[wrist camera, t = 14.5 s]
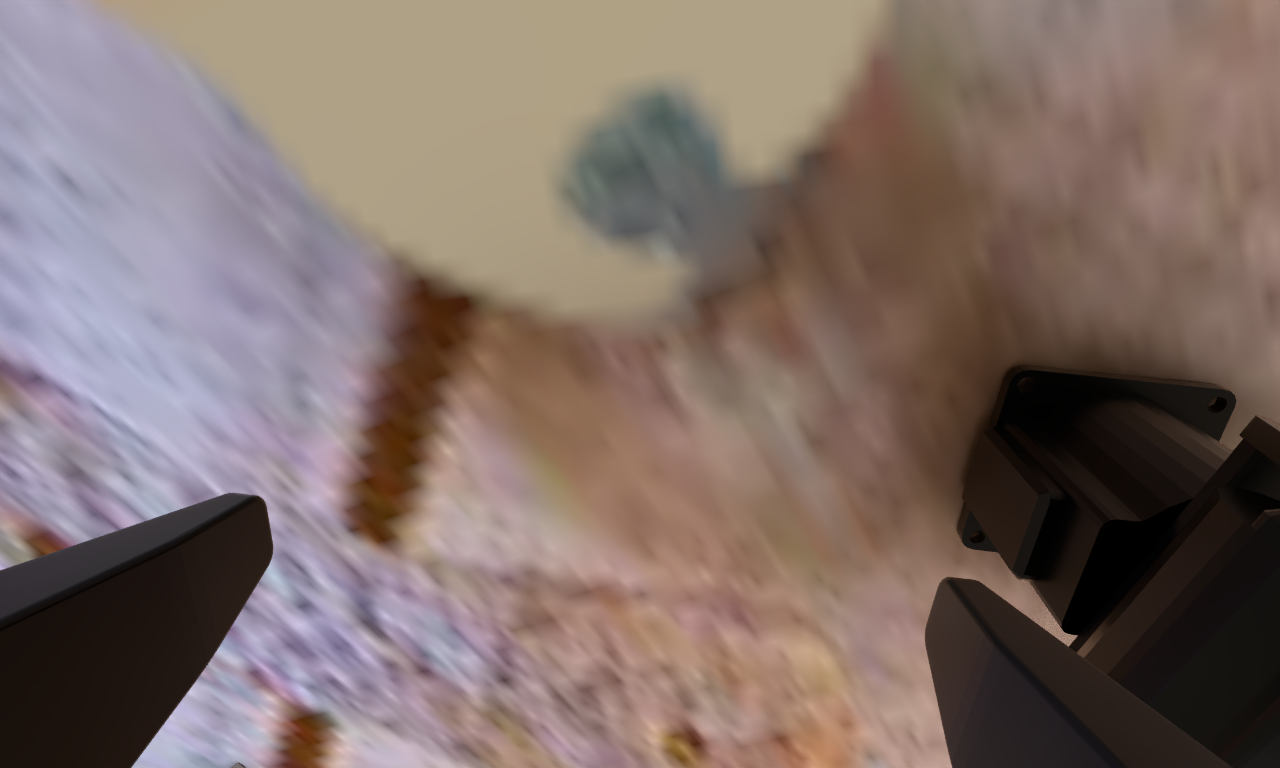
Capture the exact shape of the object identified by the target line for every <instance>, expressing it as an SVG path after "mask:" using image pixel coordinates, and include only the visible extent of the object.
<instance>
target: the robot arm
mask: <svg viewBox="0 0 1280 768" xmlns="http://www.w3.org/2000/svg"><path fill="white" fill-rule="evenodd" d="M1028 377H1030V379H1029V383H1028V384H1027V385H1026V386H1025V387H1023V388H1018V383H1019V381H1020V380H1022V379H1023V378H1028ZM1216 397H1217V401H1216V402H1215V404H1214V405H1212V406H1210V407H1208V403H1209V402H1210V401H1211V400H1212V399H1214V398H1216ZM1235 404H1236V398H1235V395H1234V394H1233V393H1232V392H1231V391H1229V390H1227V389H1225V388H1223V387H1221V386H1218V385H1215V384H1206V383H1196V382H1186V381H1176V380H1166V379H1157V378H1147V377H1137V376H1127V375H1117V374H1107V373H1097V372H1087V371H1077V370H1068V369H1058V368H1048V367H1038V366H1028V365H1022V366H1017V367H1015V368H1012V369H1011V370H1010V371H1009V372H1008V373H1007V374H1006V376H1005V378H1004V380H1003V384H1002V387H1001V390H1000V393H999V397H998V400H997V403H996V406H995V410H994V413H993V416H992V419H991V423H990V426H989V427H987V428H986V429H985V430H984V431H983V432H982V433H981V436H980V439H979V442H978V446H977V449H976V452H975V455H974V459H973V462H972V465H971V469H970V472H969V475H968V478H967V482H966V485H965V488H964V492H963V495H962V498H963V500H964V501H965V503H966V504H965V507H964V510H963V514H962V517H961V520H960V523H959V527H958V535H959V537H960V539H961V541H962V542H963V544H964V545H965V546H966V547H968V548H970V549H974V550H983V551H991V552H998V553H999V554H1000V556H1001V557H1002V559H1003V560H1004V562H1005V563H1006V565H1007V566H1008V568H1009V569H1010V571H1011V572H1012V573H1013V574H1014V576H1015V577H1016V578H1017V579H1020V580H1029V582H1030V583H1031V585H1032V586H1033V588H1034V589H1035V591H1036V592H1037V594H1038V595H1039V596H1040V598H1041V599H1042V601H1043V602H1044V604H1045V605H1046V607H1047V608H1048V610H1049V611H1050V612H1051V614H1052V615H1053V617H1054V618H1055V620H1056V621H1057V623H1058V624H1059V626H1060V627H1061V628H1062V630H1063V631H1064V632H1065V633H1068V634H1071V635H1078V636H1077V638H1076V639H1075V640H1074V641H1073V642H1072V644H1071V645H1070V646H1069V647H1068V646H1067V645H1065V644H1064V643H1062V642H1061V641H1060V640H1058V639H1057V638H1056V637H1054V636H1053V635H1052V634H1050V633H1049V632H1047V631H1046V630H1045V629H1043V628H1042V627H1041V626H1039V625H1038V624H1037V623H1035V622H1034V621H1032V620H1031V619H1030V618H1028V617H1027V616H1026V615H1024V614H1023V613H1022V612H1020V611H1019V610H1017V609H1016V608H1015V607H1013V606H1012V605H1011V604H1009V603H1008V602H1007V601H1005V600H1004V599H1002V598H1001V597H1000V596H998V595H997V594H996V593H994V592H993V591H992V590H990V589H989V588H987V587H986V586H985V585H983V584H982V583H980V582H979V581H976V580H971V579H962V578H953V577H946V578H945V579H943V580H942V581H941V582H940V584H939V586H938V589H937V592H936V595H935V599H934V602H933V605H932V609H931V612H930V615H929V618H928V622H927V625H926V630H925V645H926V650H927V655H928V659H929V664H930V669H931V673H932V678H933V683H934V688H935V692H936V697H937V702H938V706H939V711H940V716H941V720H942V725H943V730H944V734H945V739H946V744H947V748H948V752H949V756H950V760H951V764H952V768H1280V424H1278V423H1276V422H1273V421H1271V420H1268V419H1266V418H1263V417H1260V416H1258V415H1256V416H1255V417H1254V418H1253V419H1252V420H1251V422H1250V423H1249V424H1248V425H1247V426H1246V428H1245V429H1244V430H1243V431H1242V432H1241V434H1240V436H1241V437H1242V438H1244V439H1243V440H1242V441H1241V442H1240V444H1239V445H1238V446H1237V447H1236V448H1235V450H1234V451H1232V450H1231V449H1229V448H1228V447H1226V446H1224V445H1223V444H1221V443H1220V442H1219V440H1220V438H1221V436H1222V434H1223V431H1224V429H1225V427H1226V425H1227V423H1228V421H1229V418H1230V416H1231V414H1232V412H1233V410H1234V408H1235ZM974 531H981V532H980V533H979V534H978V535H976V536H970V535H971V533H972V532H974ZM272 555H273V541H272V535H271V529H270V524H269V518H268V512H267V506H266V503H265V502H264V500H263V499H262V498H261V497H259V496H257V495H248V494H240V493H228V494H224V495H221V496H218V497H215V498H212V499H209V500H207V501H204V502H201V503H198V504H195V505H192V506H189V507H186V508H183V509H180V510H177V511H174V512H171V513H168V514H165V515H162V516H159V517H156V518H154V519H151V520H148V521H145V522H142V523H139V524H136V525H133V526H130V527H127V528H124V529H121V530H118V531H115V532H112V533H109V534H106V535H104V536H101V537H98V538H95V539H92V540H89V541H86V542H83V543H80V544H77V545H74V546H71V547H68V548H65V549H62V550H59V551H56V552H53V553H51V554H48V555H45V556H42V557H39V558H36V559H33V560H30V561H27V562H24V563H21V564H18V565H15V566H12V567H9V568H6V569H3V570H0V768H131V767H132V766H133V765H134V763H135V762H136V761H137V759H138V758H139V757H140V755H141V754H142V753H143V751H144V750H145V749H146V747H147V746H148V745H149V743H150V742H151V741H152V739H153V738H154V737H155V735H156V734H157V733H158V731H159V730H160V729H161V727H162V726H163V725H164V723H165V722H166V720H167V719H168V718H169V716H170V715H171V714H172V712H173V711H174V710H175V708H176V707H177V706H178V704H179V703H180V702H181V700H182V699H183V698H184V696H185V695H186V694H187V692H188V691H189V690H190V688H191V687H192V686H193V684H194V683H195V682H196V680H197V679H198V677H199V676H200V675H201V673H202V672H203V670H204V669H205V668H206V666H207V665H208V663H209V662H210V660H211V659H212V657H213V656H214V654H215V652H216V651H217V649H218V648H219V646H220V645H221V643H222V641H223V640H224V638H225V636H226V635H227V633H228V632H229V630H230V628H231V627H232V625H233V623H234V622H235V620H236V618H237V617H238V615H239V613H240V612H241V610H242V609H243V607H244V605H245V604H246V602H247V600H248V599H249V597H250V595H251V594H252V592H253V590H254V589H255V587H256V586H257V584H258V582H259V581H260V579H261V577H262V576H263V574H264V572H265V571H266V569H267V567H268V566H269V564H270V561H271V559H272Z"/></svg>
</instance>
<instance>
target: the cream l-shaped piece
mask: <svg viewBox="0 0 1280 768" xmlns="http://www.w3.org/2000/svg"><path fill="white" fill-rule="evenodd" d="M232 768H244V767H243V766H241V765H240V764H239V763H237V764H236V765H235V766H233V767H232Z"/></svg>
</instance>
